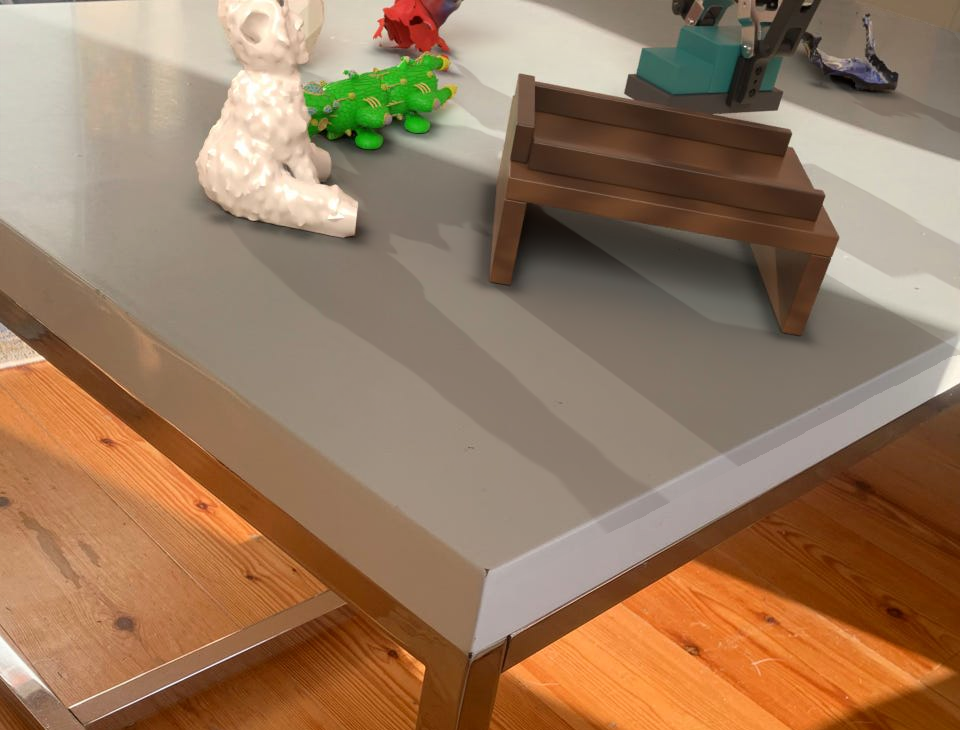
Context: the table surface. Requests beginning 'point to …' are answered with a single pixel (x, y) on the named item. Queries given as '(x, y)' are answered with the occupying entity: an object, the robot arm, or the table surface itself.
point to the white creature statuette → (271, 131)
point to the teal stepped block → (699, 72)
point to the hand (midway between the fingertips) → (713, 93)
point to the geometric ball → (303, 3)
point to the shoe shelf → (665, 182)
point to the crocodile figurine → (378, 100)
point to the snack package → (854, 63)
